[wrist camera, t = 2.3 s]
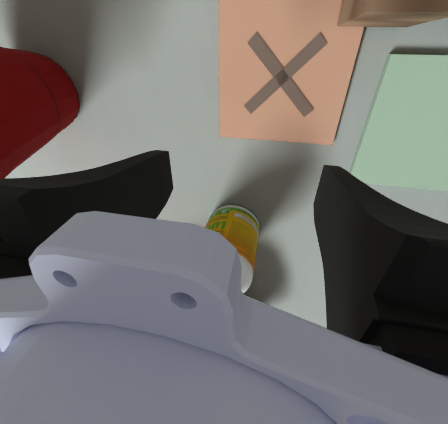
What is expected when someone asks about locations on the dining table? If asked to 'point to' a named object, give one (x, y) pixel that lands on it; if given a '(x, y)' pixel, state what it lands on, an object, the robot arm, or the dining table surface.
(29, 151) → the plastic cup
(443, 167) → the tile
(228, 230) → the supplement bottle
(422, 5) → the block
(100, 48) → the dining table surface
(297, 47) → the tile
